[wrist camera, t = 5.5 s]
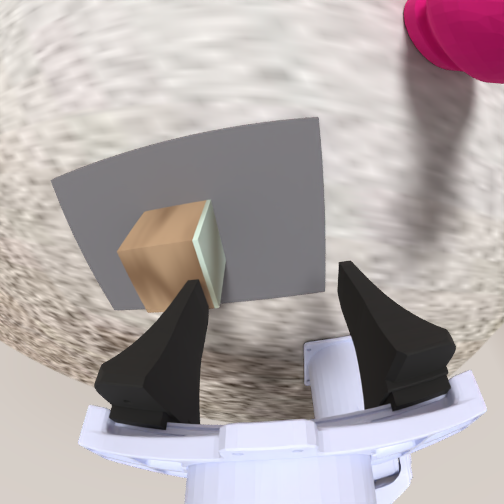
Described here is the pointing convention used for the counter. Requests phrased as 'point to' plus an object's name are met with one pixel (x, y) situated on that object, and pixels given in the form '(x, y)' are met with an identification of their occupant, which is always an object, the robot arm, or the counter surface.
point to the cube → (174, 254)
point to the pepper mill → (460, 35)
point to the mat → (223, 201)
